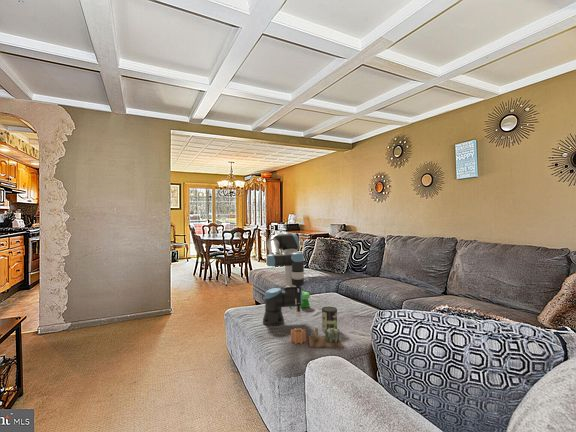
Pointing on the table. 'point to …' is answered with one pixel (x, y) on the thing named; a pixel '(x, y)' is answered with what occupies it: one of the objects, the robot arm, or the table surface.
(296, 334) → the loose gear
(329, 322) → the coffee can
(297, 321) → the table surface
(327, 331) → the gear board
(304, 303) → the toy character
